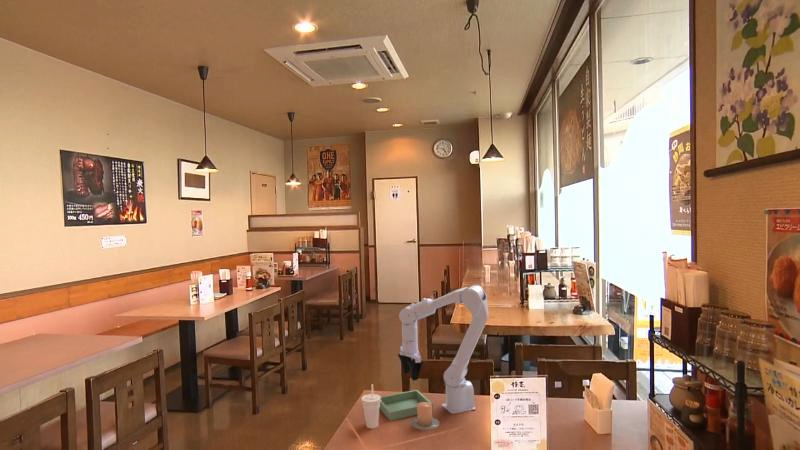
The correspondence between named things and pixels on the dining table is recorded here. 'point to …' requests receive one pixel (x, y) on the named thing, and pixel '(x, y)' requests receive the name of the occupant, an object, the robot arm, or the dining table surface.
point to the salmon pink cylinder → (424, 414)
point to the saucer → (434, 425)
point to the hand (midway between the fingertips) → (410, 376)
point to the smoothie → (371, 409)
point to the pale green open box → (402, 404)
